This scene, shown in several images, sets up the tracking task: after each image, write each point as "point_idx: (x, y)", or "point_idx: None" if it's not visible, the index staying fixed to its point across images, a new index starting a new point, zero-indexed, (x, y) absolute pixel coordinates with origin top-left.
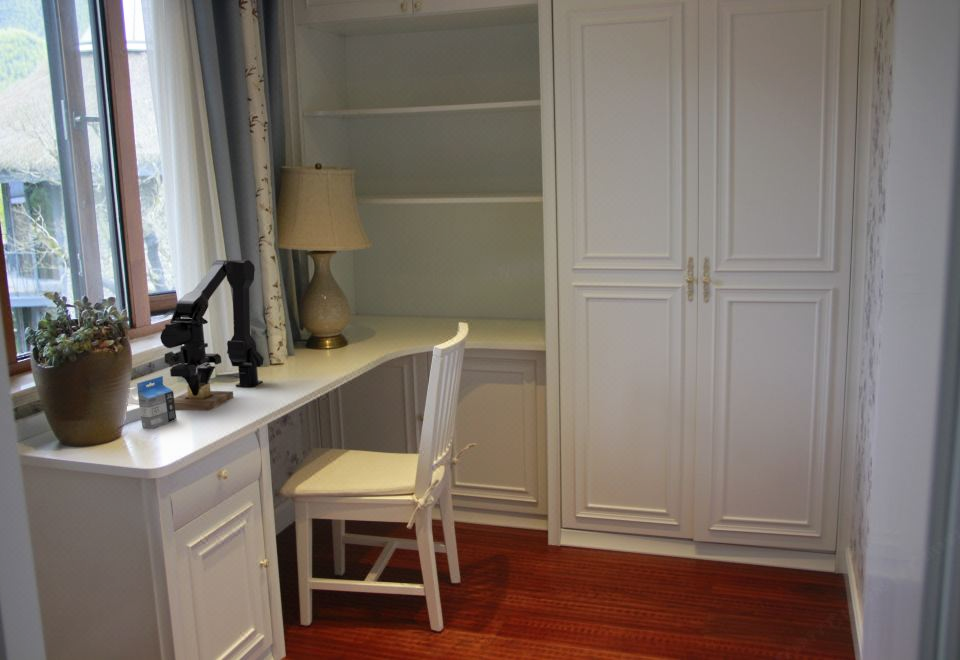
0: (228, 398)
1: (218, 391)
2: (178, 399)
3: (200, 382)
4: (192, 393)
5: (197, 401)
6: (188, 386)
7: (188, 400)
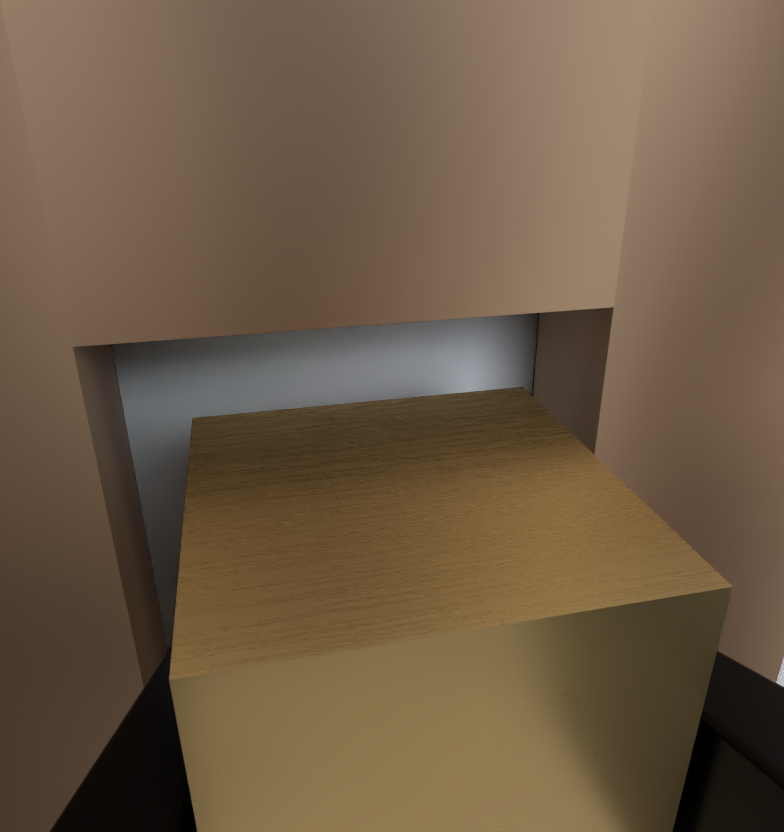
0: None
1: (761, 650)
2: (2, 219)
3: (704, 774)
4: (150, 678)
5: (2, 776)
6: (180, 718)
7: (9, 556)
